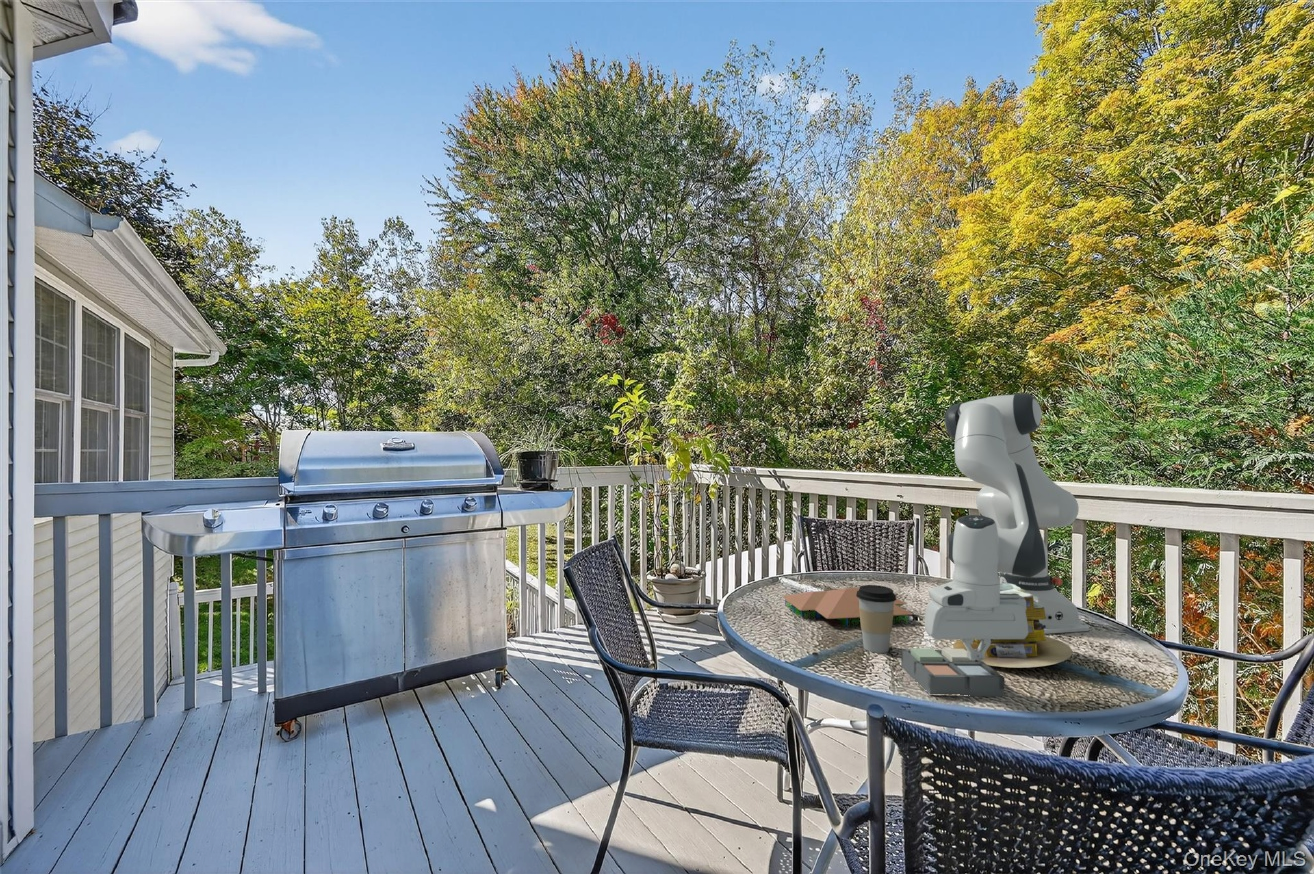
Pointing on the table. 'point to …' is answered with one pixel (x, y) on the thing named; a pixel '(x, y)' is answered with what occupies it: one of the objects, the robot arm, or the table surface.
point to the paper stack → (1024, 640)
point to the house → (834, 604)
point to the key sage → (926, 655)
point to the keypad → (953, 677)
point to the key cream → (956, 655)
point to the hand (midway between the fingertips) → (975, 658)
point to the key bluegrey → (973, 670)
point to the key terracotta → (940, 670)
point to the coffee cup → (876, 616)
